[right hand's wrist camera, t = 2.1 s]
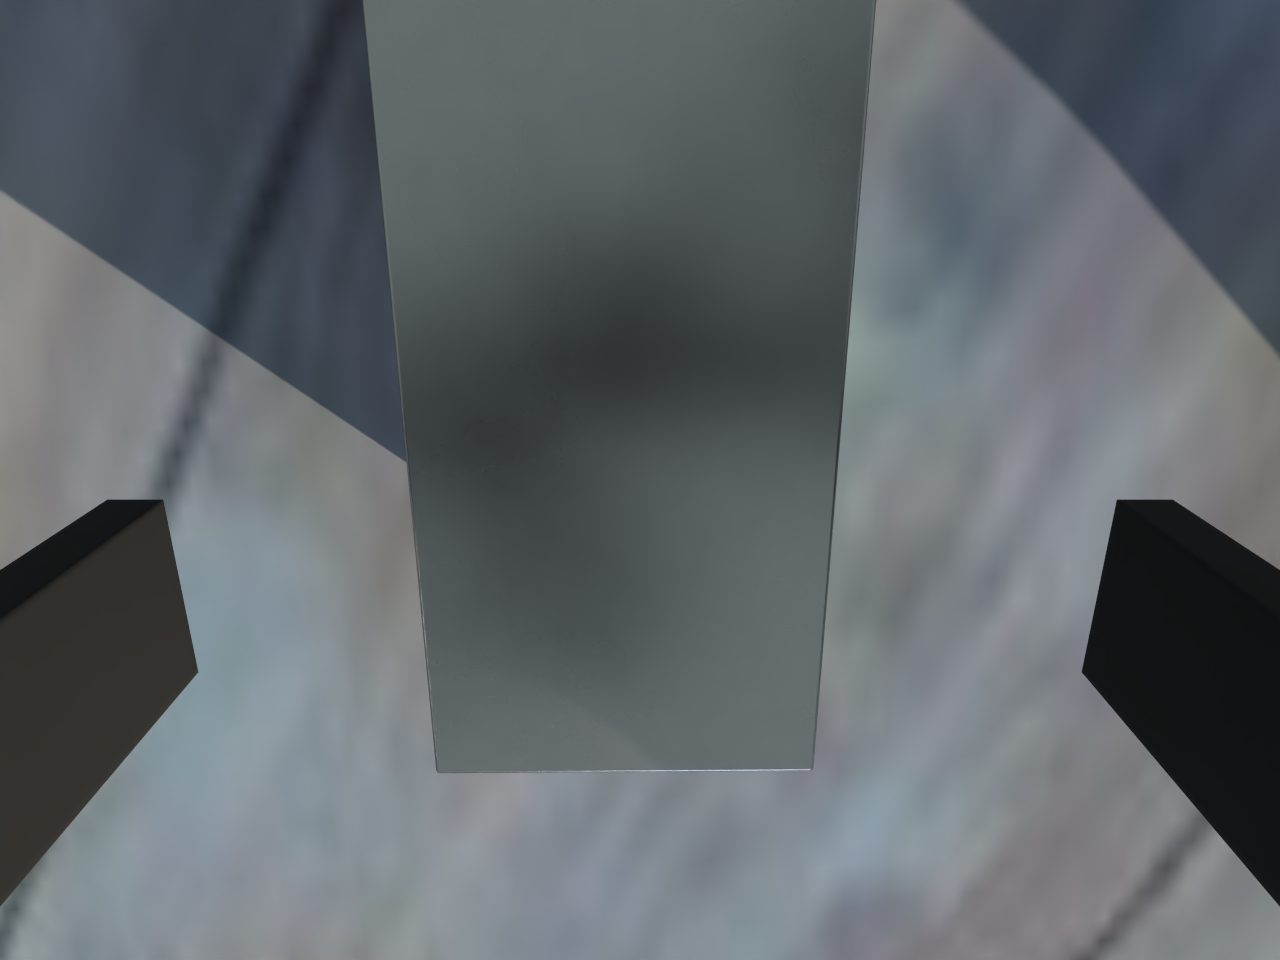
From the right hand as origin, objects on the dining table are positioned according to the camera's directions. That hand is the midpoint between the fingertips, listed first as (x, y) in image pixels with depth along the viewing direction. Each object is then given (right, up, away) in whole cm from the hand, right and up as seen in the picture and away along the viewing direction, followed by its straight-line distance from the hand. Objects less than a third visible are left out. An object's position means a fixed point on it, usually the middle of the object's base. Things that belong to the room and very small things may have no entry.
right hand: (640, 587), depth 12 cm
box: (0, +13, +7) cm, 15 cm away
